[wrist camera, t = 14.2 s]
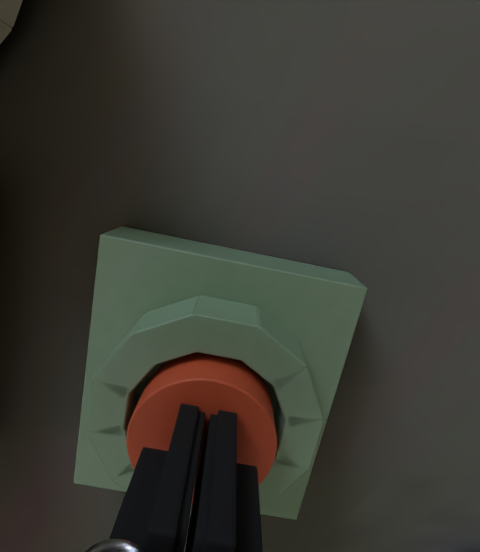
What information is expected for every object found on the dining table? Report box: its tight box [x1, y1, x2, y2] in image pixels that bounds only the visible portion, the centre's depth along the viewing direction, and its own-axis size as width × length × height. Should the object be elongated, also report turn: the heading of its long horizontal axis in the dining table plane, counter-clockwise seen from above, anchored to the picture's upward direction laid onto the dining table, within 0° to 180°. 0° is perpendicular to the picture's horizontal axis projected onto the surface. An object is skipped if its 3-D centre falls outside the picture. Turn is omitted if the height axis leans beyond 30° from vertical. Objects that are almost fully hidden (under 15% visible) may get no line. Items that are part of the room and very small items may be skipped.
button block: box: [74, 226, 368, 520], centre depth 13 cm, size 10×9×4 cm
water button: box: [126, 352, 277, 506], centre depth 11 cm, size 4×4×2 cm
